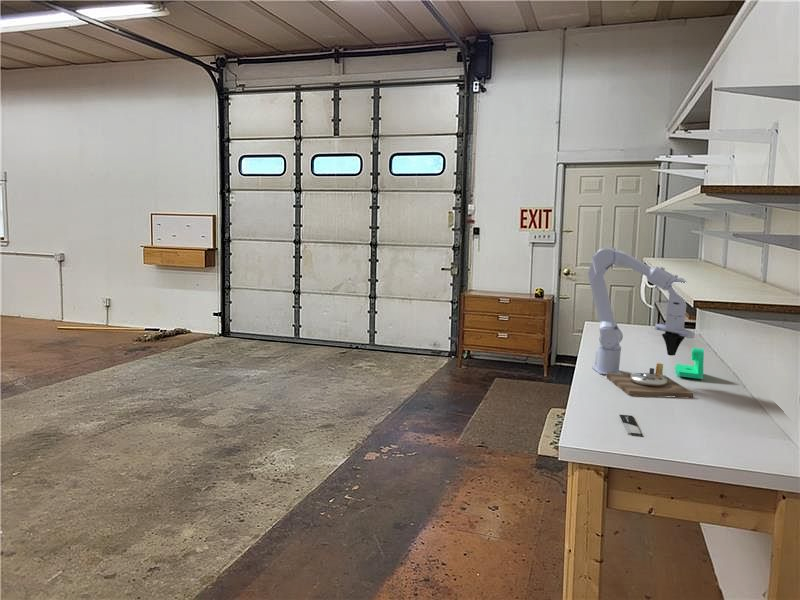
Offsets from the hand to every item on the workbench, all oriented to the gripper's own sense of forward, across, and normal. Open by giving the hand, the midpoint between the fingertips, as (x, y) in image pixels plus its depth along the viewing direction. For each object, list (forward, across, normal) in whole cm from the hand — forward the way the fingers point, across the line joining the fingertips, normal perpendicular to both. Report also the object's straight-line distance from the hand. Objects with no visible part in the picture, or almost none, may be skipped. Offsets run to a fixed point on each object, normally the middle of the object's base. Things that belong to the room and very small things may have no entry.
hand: (671, 355), depth 200 cm
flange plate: (+8, -2, +10) cm, 13 cm away
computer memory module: (+10, -30, +44) cm, 54 cm away
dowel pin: (+8, +2, +6) cm, 10 cm away
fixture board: (+9, -3, +12) cm, 15 cm away
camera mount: (+10, +5, -14) cm, 18 cm away
